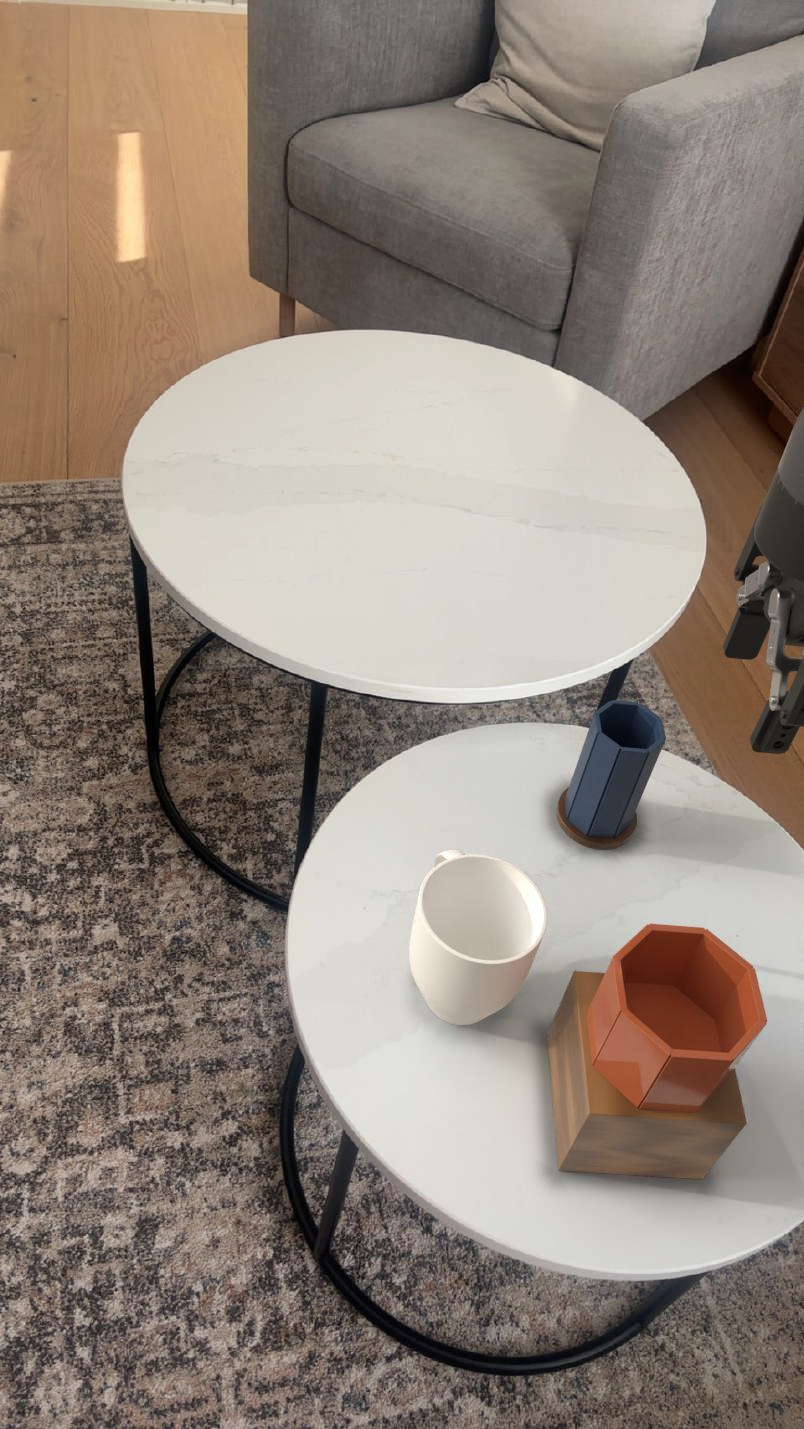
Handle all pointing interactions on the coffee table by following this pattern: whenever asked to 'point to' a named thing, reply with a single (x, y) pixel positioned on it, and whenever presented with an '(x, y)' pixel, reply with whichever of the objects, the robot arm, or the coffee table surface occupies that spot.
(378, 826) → the coffee table surface
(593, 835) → the slate cup
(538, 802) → the coffee table surface
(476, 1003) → the mug
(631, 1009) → the terracotta cup
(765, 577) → the robot arm
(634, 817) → the coaster
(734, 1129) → the riser
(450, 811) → the coffee table surface
